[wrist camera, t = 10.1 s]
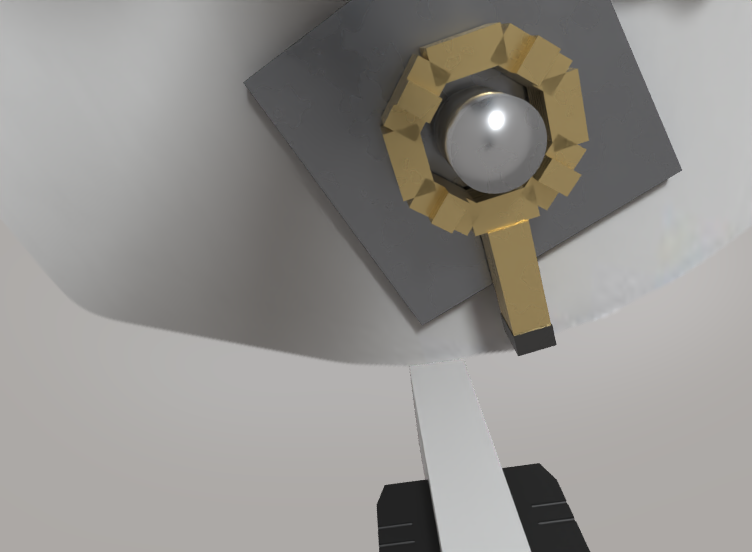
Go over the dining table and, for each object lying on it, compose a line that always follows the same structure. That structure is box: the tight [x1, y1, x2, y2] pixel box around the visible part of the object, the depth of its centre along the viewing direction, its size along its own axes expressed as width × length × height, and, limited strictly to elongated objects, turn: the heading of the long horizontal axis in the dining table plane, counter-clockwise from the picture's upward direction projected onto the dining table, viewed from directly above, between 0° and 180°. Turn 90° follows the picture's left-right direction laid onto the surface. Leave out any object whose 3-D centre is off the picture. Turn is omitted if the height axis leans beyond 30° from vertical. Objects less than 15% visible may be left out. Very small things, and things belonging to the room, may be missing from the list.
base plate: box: [243, 0, 682, 325], centre depth 31 cm, size 21×20×7 cm
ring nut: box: [380, 22, 589, 356], centre depth 32 cm, size 20×11×4 cm, turn 18°
